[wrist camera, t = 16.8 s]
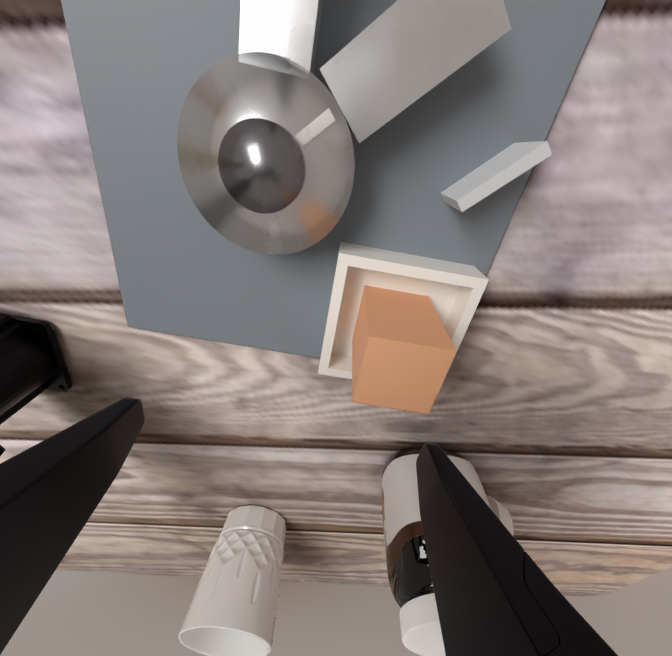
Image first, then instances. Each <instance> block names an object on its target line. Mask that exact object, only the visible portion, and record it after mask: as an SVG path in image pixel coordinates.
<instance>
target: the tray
mask: <svg viewBox="0 0 672 656" xmlns="http://www.w3.org/2000/svg"><path fill="white" fill-rule="evenodd" d="M488 281H489V279H488V278H487V277H485V276H484V275H483V274H482V273H481V272H480V271H479V270H478V269H477V268H476V267H475V266H472V265H466V264H461V263H455V262H449V261H444V260H438V259H433V258H427V257H422V256H416V255H411V254H405V253H400V252H394V251H388V250H383V249H377V248H372V247H366V246H361V245H355V244H350V243H344V242H340V247H339V253H338V259H337V265H336V271H335V276H334V282H333V288H332V294H331V299H330V305H329V311H328V317H327V323H326V328H325V334H324V340H323V346H322V351H321V358H320V364H319V370H318V374H323V375H329V376H335V377H341V378H347V379H352V339H353V334H354V330H355V325H356V321H357V317H358V312H359V308H360V303H361V299H362V295H363V290H364V286H365V285H367V286H372V287H378V288H384V289H390V290H395V291H401V292H407V293H413V294H418V295H424V296H428V297H429V299H430V301H431V303H432V305H433V307H434V308H435V310H436V312H437V314H438V316H439V318H440V320H441V322H442V324H443V326H444V328H445V330H446V332H447V334H448V336H449V337H450V339H451V341H452V343H453V345H454V347H455V349H456V353H457V351H458V348H459V346H460V344H461V342H462V339H463V337H464V335H465V333H466V330H467V328H468V326H469V324H470V321H471V319H472V317H473V315H474V312H475V310H476V308H477V306H478V303H479V301H480V299H481V297H482V294H483V292H484V290H485V288H486V285H487V283H488ZM456 353H455V355H456ZM455 355H454V357H455ZM453 360H454V358H453ZM453 360H452V362H453ZM452 362H451V364H452ZM451 364H450V366H451ZM449 369H450V367H449ZM449 369H448V371H449ZM448 371H447V373H448ZM447 373H446V375H447ZM445 378H446V376H445ZM445 378H444V380H445ZM444 380H443V382H444ZM443 382H442V384H443ZM441 387H442V385H441ZM441 387H440V389H441ZM440 389H439V391H440ZM438 393H439V392H438Z"/></svg>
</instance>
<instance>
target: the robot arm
mask: <svg viewBox="0 0 672 656" xmlns="http://www.w3.org/2000/svg"><path fill="white" fill-rule="evenodd" d="M71 387H72V384H71V381H70V378H69V375H68V372H67V369H66V366H65V364H64V361H63V358H62V355H61V352H60V349H59V346H58V344H57V341H56V338H55V335H54V332H53V329H52V327H51V325H50V324H49V323H47V322H46V321H43V320H37V319H30V318H24V317H18V316H12V315H7V314H1V313H0V424H2V423H3V422H4V421H6V420H7V419H8V418H9V417H11V416H12V415H13V414H15V413H16V412H17V411H18V410H20V409H21V408H22V407H24V406H25V405H26V404H27V403H29V402H30V401H31V400H33V399H34V398H35V397H36V396H38V395H39V394H40V393H42V392H43V391H44V390H46V389H49V390H56V391H62V392H66V391H68V390H69V389H70V388H71ZM144 419H145V418H144V412H143V406H142V402H141V400H140V399H135V398H128V397H127V398H124V399H121V400H120V401H118V402H116V403H114V404H112V405H110V406H108V407H106V408H105V409H103V410H101V411H99V412H97V413H95V414H93V415H91V416H89V417H88V418H86V419H84V420H82V421H80V422H78V423H76V424H74V425H72V426H71V427H69V428H67V429H65V430H63V431H61V432H59V433H57V434H56V435H54V436H52V437H50V438H48V439H46V440H44V441H42V442H40V443H39V444H37V445H35V446H33V447H31V448H29V449H27V450H25V451H23V452H22V453H20V454H18V455H16V456H14V457H12V458H10V459H8V460H7V461H5V462H3V463H1V464H0V654H1V653H2V651H3V650H4V648H5V646H6V645H7V644H8V642H9V640H10V639H11V637H12V636H13V634H14V633H15V631H16V630H17V628H18V627H19V625H20V623H21V622H22V620H23V619H24V617H25V616H26V614H27V613H28V611H29V610H30V608H31V607H32V605H33V604H34V602H35V600H36V599H37V597H38V596H39V594H40V593H41V591H42V590H43V588H44V587H45V585H46V584H47V582H48V580H49V579H50V577H51V576H52V574H53V573H54V571H55V570H56V568H57V567H58V565H59V564H60V562H61V561H62V559H63V557H64V556H65V554H66V553H67V551H68V550H69V548H70V547H71V545H72V544H73V542H74V541H75V539H76V538H77V536H78V534H79V533H80V531H81V530H82V528H83V527H84V525H85V524H86V522H87V521H88V519H89V518H90V516H91V514H92V513H93V511H94V510H95V508H96V507H97V505H98V504H99V502H100V501H101V499H102V498H103V496H104V494H105V493H106V491H107V490H108V488H109V487H110V485H111V484H112V482H113V481H114V479H115V477H116V476H117V474H118V473H119V471H120V469H121V467H122V465H123V463H124V461H125V459H126V457H127V456H128V454H129V452H130V450H131V448H132V446H133V444H134V442H135V440H136V438H137V436H138V434H139V432H140V430H141V428H142V426H143V424H144ZM4 451H5V449H4V448H3V447H2V446H1V445H0V456H1V455H2V453H3V452H4ZM416 471H417V484H418V497H419V509H420V517H421V523H422V529H423V534H424V539H425V545H426V550H427V556H428V561H429V567H430V572H431V578H432V583H433V589H434V594H435V600H436V605H437V610H438V616H439V621H440V627H441V632H442V638H443V643H444V649H445V654H446V656H618V655H617V654H616V653H615V652H614V651H613V650H612V649H611V648H610V646H609V645H608V644H607V643H606V642H605V641H604V640H603V639H602V638H601V637H600V636H599V634H598V633H597V632H596V631H595V630H594V629H593V628H592V627H591V626H590V625H589V624H588V623H587V622H586V621H585V619H584V618H583V617H582V616H581V615H580V614H579V613H578V612H577V611H576V610H575V608H574V607H573V606H572V605H571V604H570V603H569V602H568V601H567V599H566V598H565V597H564V596H563V595H562V594H561V593H560V592H559V591H558V589H557V588H556V587H555V586H554V585H553V584H552V583H551V581H550V580H549V579H548V578H547V577H546V575H545V574H544V573H543V572H542V571H541V570H540V568H539V567H538V566H537V565H536V564H535V562H534V561H533V560H532V559H531V557H530V556H529V555H528V554H527V553H526V552H524V549H523V548H522V547H521V545H520V544H519V543H518V542H517V540H516V539H515V538H514V537H513V536H512V534H511V533H510V532H509V531H508V529H507V528H506V527H505V526H504V525H503V523H502V522H501V521H500V520H499V518H498V517H497V516H496V515H495V514H494V512H493V511H492V510H491V509H490V507H489V506H488V505H487V504H486V503H485V501H484V500H483V499H482V498H481V496H480V495H479V494H478V493H477V492H476V490H475V489H474V488H473V487H472V485H471V484H470V483H469V482H468V481H467V479H466V478H465V477H464V476H463V474H462V473H461V472H460V471H459V470H458V468H457V467H456V466H455V465H454V463H453V462H452V461H451V460H450V458H449V457H448V456H447V455H446V454H445V452H444V451H443V450H442V449H441V447H440V446H439V445H437V444H433V443H425V444H424V445H423V447H422V449H421V451H420V453H419V455H418V457H417V460H416Z"/></svg>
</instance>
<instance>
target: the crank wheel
mask: <svg viewBox="0 0 672 656" xmlns="http://www.w3.org/2000/svg"><path fill="white" fill-rule="evenodd" d="M322 6H323V0H241V6H240V36H239V54H235V55H233V56H230V57H227V58H225V59H222V60H221V61H219V62H217V63H216V64H214V65H212V66H211V67H210V68H209V69H208V70H207V71H205V72H204V73H203V74H202V75H201V76H200V78H199V79H198V80H197V81H196V82H195V84H194V85H193V87H192V88H191V90H190V92H189V94H188V95H187V97H186V100H185V102H184V105H183V107H182V111H181V114H180V118H179V123H178V131H177V152H178V161H179V165H180V170H181V174H182V177H183V180H184V183H185V186H186V188H187V190H188V193H189V195H190V197H191V199H192V201H193V202H194V204H195V206H196V207H197V209H198V210H199V212H200V213H201V214H202V216H203V217H204V218H205V220H206V221H207V222H208V223H209V224H210V225H211V226H212V227H213V228H214V229H215V230H216V231H217V232H219V233H220V234H221V235H222V236H224V237H225V238H226V239H228V240H229V241H231V242H233V243H234V244H236V245H238V246H240V247H242V248H245V249H247V250H249V251H253V252H257V253H261V254H268V255H284V254H291V253H295V252H299V251H301V250H304V249H306V248H309V247H310V246H312V245H314V244H316V243H317V242H319V241H320V240H321V239H323V238H324V237H325V236H326V235H327V234H328V233H329V232H330V231H331V230H332V229H333V228H334V226H335V225H336V224H337V222H338V221H339V220H340V218H341V216H342V214H343V213H344V211H345V209H346V206H347V204H348V201H349V199H350V195H351V191H352V188H353V181H354V171H355V159H354V148H353V143H352V138H351V134H350V131H349V128H348V125H349V126H350V128H351V130H352V132H353V134H354V136H355V138H356V140H357V141H358V143H361V142H362V141H363V140H365V139H366V138H367V137H369V136H370V135H371V134H373V133H374V132H375V131H377V130H378V129H379V128H381V127H382V126H383V125H385V124H386V123H387V122H389V121H390V120H391V119H393V118H394V117H395V116H397V115H398V114H399V113H401V112H402V111H403V110H405V109H406V108H407V107H409V106H410V105H411V104H413V103H414V102H415V101H417V100H418V99H419V98H421V97H422V96H423V95H425V94H426V93H427V92H429V91H430V90H431V89H433V88H434V87H435V86H436V85H438V84H439V83H440V82H442V81H443V80H444V79H446V78H447V77H448V76H450V75H451V74H452V73H454V72H455V71H456V70H458V69H459V68H460V67H462V66H463V65H464V64H466V63H467V62H468V61H470V60H471V59H472V58H474V57H475V56H476V55H478V54H479V53H480V52H482V51H483V50H484V49H486V48H487V47H488V46H490V45H491V44H492V43H494V42H495V41H496V40H498V39H499V38H500V37H502V36H503V35H504V34H506V33H507V32H508V31H509V30H511V29H512V28H511V25H510V22H509V18H508V15H507V11H506V8H505V4H504V1H503V0H397V1H396V2H395V3H394V4H393V5H392V6H390V7H389V8H388V9H387V10H386V11H385V12H384V13H383V14H381V15H380V16H379V17H378V18H377V19H376V20H375V21H373V22H372V23H371V24H370V25H369V26H368V27H367V28H366V29H364V30H363V31H362V32H361V33H360V34H359V35H358V36H356V37H355V38H354V39H353V40H352V41H351V42H350V43H348V44H347V45H346V46H345V47H344V48H343V49H342V50H341V51H339V52H338V53H337V54H336V55H335V56H334V57H333V58H331V59H330V60H329V61H328V62H327V63H326V64H325V65H323V66H322V67H321V68H320V71H321V74H322V76H323V78H324V80H325V82H326V84H327V85H328V87H329V89H330V91H331V93H332V94H331V93H330V92H329V90H328V89H327V88H326V87H325V85H324V84H323V83H322V82H321V81H320V80H319V79H318V78H317V77H316V76H315V75H314V67H315V59H316V52H317V44H318V36H319V29H320V21H321V13H322ZM347 123H348V124H347Z"/></svg>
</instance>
